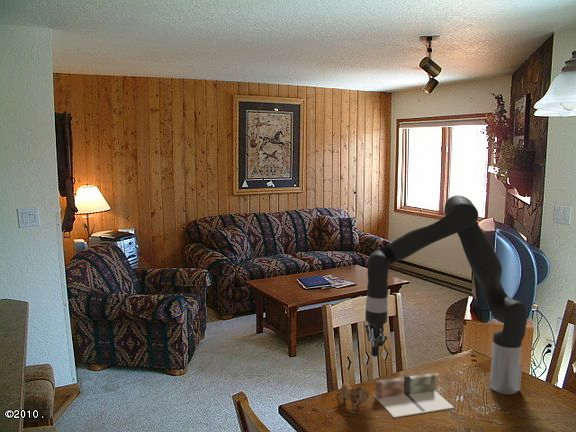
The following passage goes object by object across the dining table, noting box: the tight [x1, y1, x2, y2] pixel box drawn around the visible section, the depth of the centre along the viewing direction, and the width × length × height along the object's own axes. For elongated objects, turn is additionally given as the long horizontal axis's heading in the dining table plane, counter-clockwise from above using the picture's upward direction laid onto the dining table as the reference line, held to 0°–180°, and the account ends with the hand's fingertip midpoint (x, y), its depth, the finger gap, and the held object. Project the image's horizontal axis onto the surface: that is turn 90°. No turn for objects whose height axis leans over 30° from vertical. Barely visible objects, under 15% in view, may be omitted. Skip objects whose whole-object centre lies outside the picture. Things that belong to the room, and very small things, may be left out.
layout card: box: [374, 390, 455, 419], centre depth 167 cm, size 22×14×1 cm, turn 106°
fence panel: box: [374, 377, 404, 399], centre depth 170 cm, size 10×2×6 cm, turn 106°
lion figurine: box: [336, 382, 371, 414], centre depth 164 cm, size 15×5×9 cm, turn 35°
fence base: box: [403, 372, 436, 395], centre depth 173 cm, size 12×2×6 cm, turn 106°
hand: (374, 355), depth 174 cm, fingers closed
